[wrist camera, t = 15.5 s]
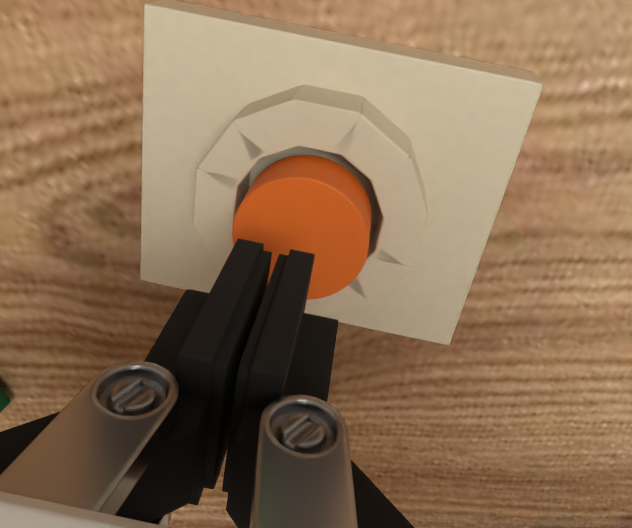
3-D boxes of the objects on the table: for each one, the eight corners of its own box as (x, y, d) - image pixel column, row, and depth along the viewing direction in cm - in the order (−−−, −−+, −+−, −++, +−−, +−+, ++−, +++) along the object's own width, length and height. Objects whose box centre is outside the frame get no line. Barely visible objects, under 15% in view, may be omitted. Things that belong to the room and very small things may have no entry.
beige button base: (532, 71, 17) (561, 99, 14) (445, 318, 21) (453, 381, 18) (165, -2, 17) (114, 10, 14) (157, 257, 21) (117, 309, 18)
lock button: (384, 168, 15) (382, 193, 14) (357, 280, 17) (353, 312, 16) (254, 141, 16) (238, 163, 14) (241, 255, 17) (225, 285, 16)
